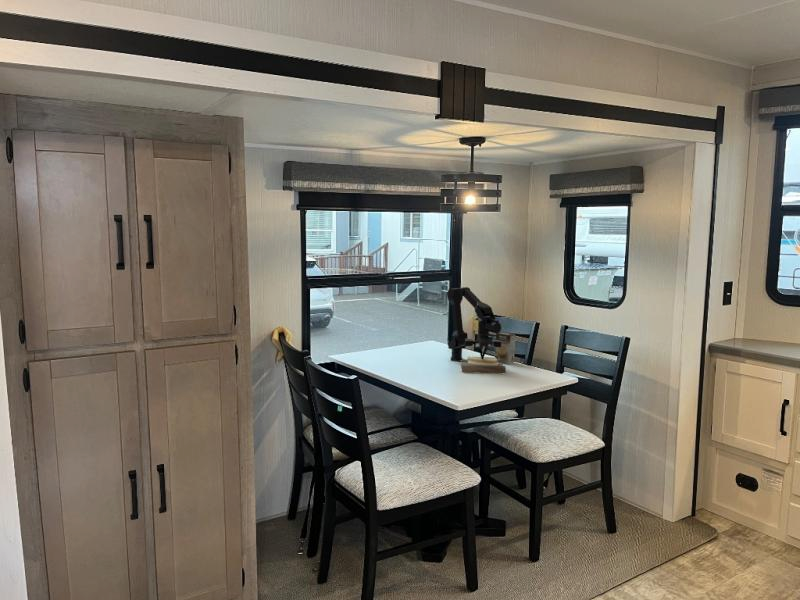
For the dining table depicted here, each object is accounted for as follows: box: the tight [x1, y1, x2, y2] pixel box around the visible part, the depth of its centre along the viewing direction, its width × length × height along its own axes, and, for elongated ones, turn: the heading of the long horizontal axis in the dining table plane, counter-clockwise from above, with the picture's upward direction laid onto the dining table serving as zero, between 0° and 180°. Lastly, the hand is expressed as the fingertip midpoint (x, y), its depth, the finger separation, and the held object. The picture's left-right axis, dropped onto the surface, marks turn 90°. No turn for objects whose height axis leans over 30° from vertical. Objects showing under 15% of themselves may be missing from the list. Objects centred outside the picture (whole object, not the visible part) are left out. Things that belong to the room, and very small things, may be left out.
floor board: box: [460, 361, 506, 374], centre depth 309 cm, size 16×22×3 cm
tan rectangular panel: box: [467, 356, 498, 366], centre depth 310 cm, size 10×15×2 cm, turn 86°
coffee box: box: [494, 331, 517, 365], centre depth 325 cm, size 9×6×16 cm
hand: (482, 358), depth 313 cm, fingers closed, pressing on tan rectangular panel
